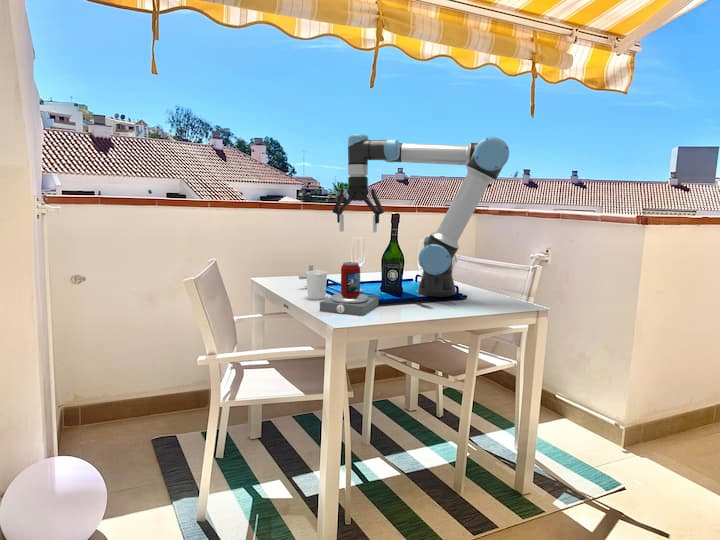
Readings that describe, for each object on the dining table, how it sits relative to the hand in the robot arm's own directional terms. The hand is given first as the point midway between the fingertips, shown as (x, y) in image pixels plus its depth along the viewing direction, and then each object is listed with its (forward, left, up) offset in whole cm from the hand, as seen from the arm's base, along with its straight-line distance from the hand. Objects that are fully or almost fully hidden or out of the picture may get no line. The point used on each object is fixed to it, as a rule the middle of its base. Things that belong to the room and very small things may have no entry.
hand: (358, 231), depth 193 cm
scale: (-5, +21, -25) cm, 33 cm away
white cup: (+13, +11, -26) cm, 31 cm away
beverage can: (-5, +20, -21) cm, 30 cm away
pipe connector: (+23, -4, -26) cm, 35 cm away
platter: (-5, +21, -22) cm, 31 cm away
